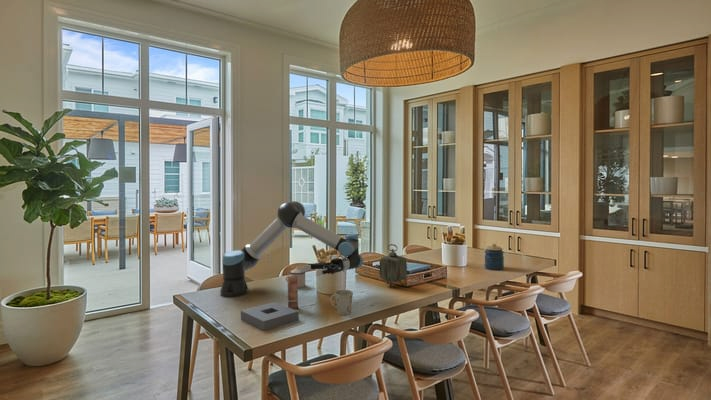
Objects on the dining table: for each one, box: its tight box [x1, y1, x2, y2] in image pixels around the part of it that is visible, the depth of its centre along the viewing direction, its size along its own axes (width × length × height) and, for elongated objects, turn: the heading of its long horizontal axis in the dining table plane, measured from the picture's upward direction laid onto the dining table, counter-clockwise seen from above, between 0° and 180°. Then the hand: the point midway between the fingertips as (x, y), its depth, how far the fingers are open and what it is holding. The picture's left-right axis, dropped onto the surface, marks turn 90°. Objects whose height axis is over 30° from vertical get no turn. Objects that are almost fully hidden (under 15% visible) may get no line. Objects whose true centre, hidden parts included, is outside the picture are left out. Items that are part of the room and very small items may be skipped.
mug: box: [329, 289, 354, 316], centre depth 187 cm, size 8×13×10 cm, turn 58°
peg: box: [287, 274, 299, 310], centre depth 195 cm, size 5×5×16 cm
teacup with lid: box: [285, 266, 306, 289], centre depth 236 cm, size 12×9×12 cm
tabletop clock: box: [379, 243, 408, 288], centre depth 233 cm, size 14×9×25 cm, turn 50°
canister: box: [484, 243, 505, 271], centre depth 277 cm, size 13×13×18 cm
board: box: [240, 301, 300, 331], centre depth 179 cm, size 20×18×4 cm
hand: (308, 271), depth 201 cm, fingers open, 13 cm apart
